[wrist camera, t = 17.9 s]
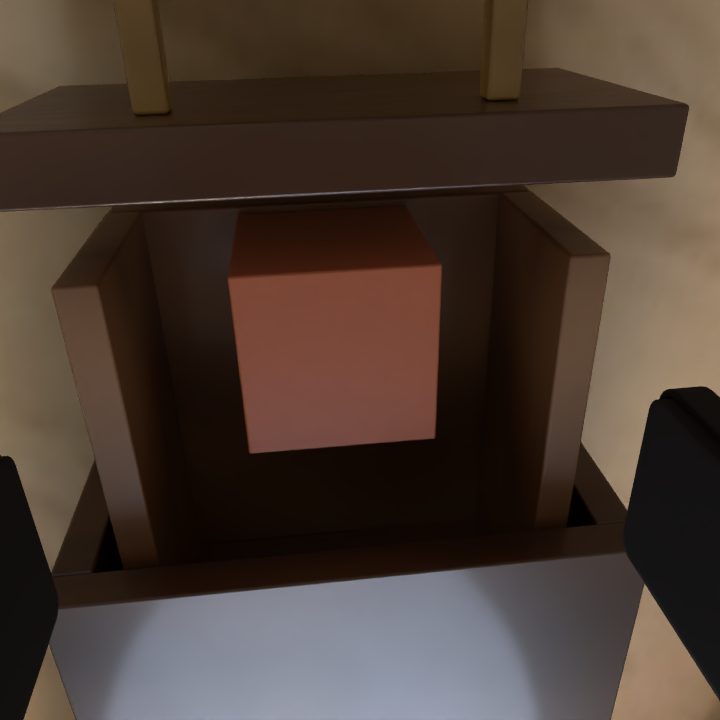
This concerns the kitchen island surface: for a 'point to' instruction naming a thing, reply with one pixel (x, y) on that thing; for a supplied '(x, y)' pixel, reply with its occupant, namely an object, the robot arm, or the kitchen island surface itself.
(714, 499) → the robot arm
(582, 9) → the kitchen island surface
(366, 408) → the block
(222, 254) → the drawer
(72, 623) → the cabinet
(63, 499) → the kitchen island surface
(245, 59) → the kitchen island surface
